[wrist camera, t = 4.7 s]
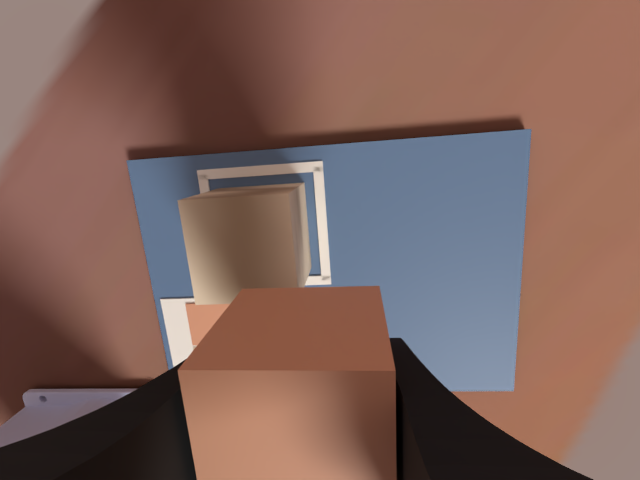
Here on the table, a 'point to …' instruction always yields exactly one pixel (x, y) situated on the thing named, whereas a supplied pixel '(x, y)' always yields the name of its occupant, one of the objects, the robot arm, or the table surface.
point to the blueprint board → (373, 239)
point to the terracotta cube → (294, 388)
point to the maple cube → (245, 240)
